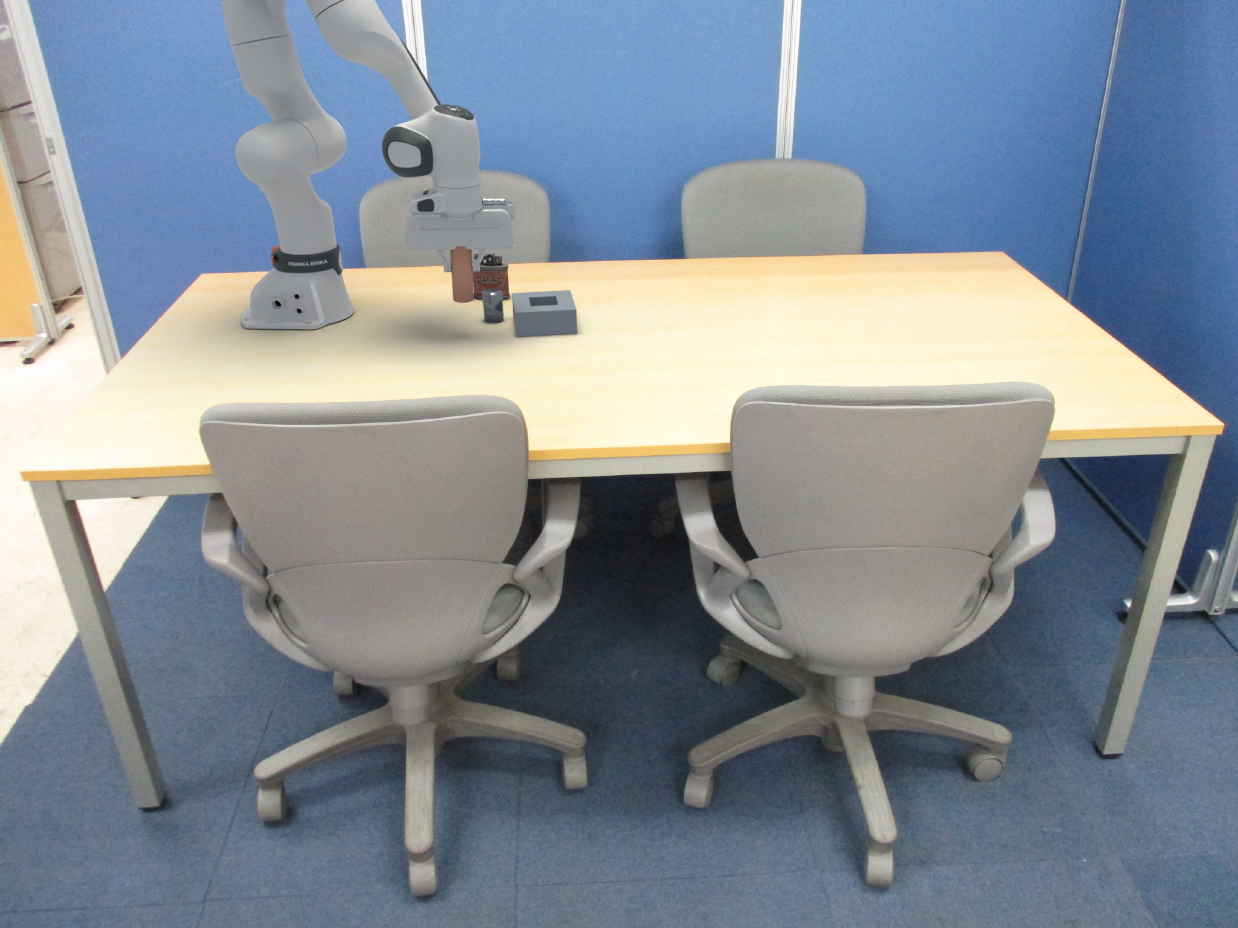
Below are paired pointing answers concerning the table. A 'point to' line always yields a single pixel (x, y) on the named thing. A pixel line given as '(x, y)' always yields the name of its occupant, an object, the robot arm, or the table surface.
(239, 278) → the table surface
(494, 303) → the short pin
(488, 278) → the lighter
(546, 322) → the bore block
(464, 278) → the long pin
